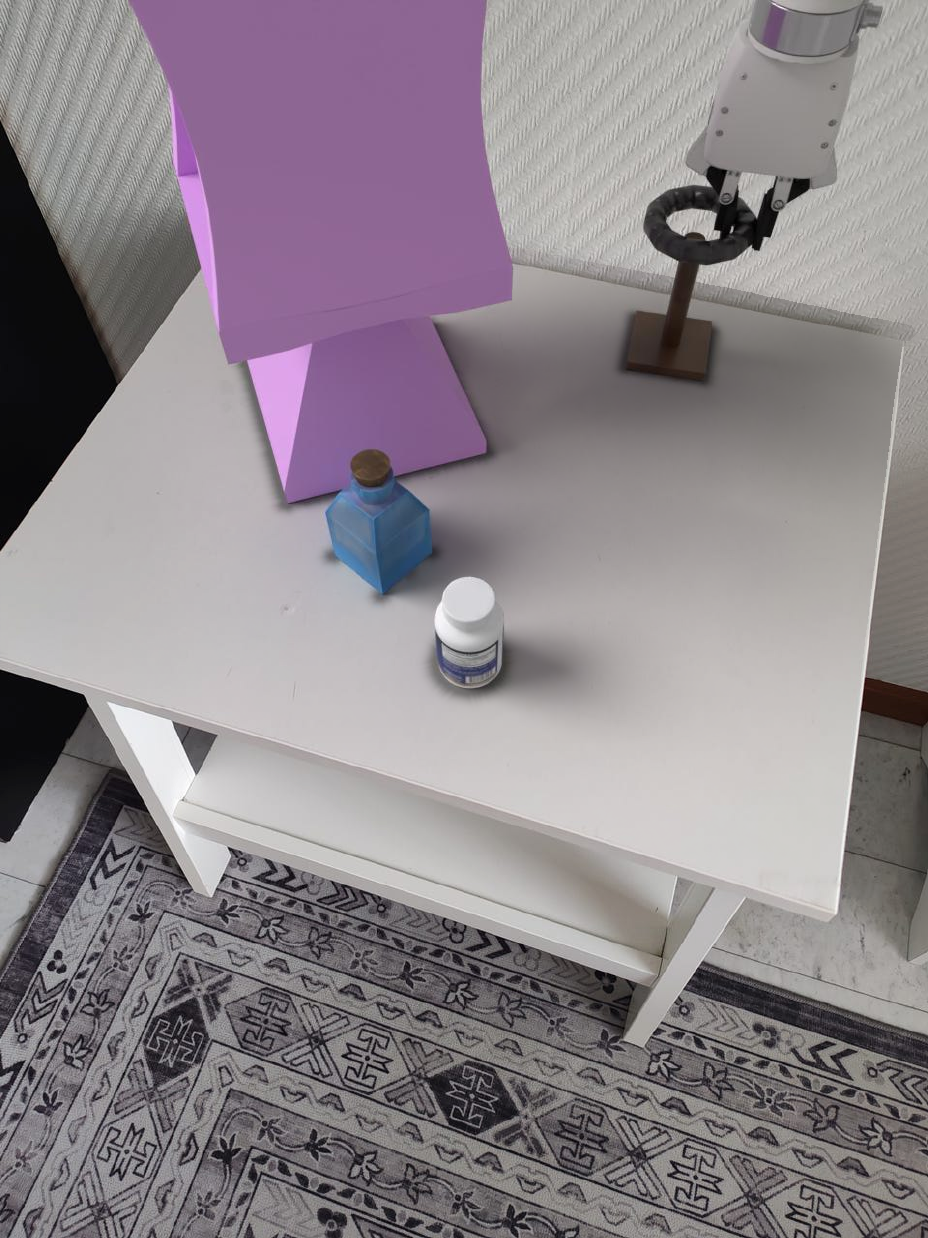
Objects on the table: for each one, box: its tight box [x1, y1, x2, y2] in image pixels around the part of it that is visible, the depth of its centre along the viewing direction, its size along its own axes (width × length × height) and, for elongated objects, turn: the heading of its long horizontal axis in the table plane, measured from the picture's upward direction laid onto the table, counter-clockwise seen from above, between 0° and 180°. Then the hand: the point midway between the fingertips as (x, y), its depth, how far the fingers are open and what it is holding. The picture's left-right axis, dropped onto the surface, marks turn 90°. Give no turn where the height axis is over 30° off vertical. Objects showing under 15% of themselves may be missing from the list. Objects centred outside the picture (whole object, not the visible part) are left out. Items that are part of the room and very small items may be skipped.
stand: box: [625, 231, 713, 381], centre depth 87 cm, size 8×8×13 cm
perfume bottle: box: [324, 449, 433, 596], centre depth 74 cm, size 6×6×12 cm
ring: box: [642, 184, 757, 266], centre depth 80 cm, size 10×10×2 cm
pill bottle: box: [434, 576, 505, 689], centre depth 69 cm, size 5×5×10 cm
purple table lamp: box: [127, 0, 514, 504], centre depth 70 cm, size 22×22×45 cm
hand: (740, 237), depth 81 cm, fingers closed on ring, 2 cm apart
